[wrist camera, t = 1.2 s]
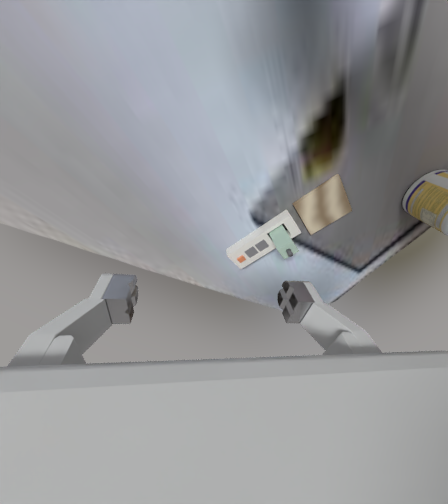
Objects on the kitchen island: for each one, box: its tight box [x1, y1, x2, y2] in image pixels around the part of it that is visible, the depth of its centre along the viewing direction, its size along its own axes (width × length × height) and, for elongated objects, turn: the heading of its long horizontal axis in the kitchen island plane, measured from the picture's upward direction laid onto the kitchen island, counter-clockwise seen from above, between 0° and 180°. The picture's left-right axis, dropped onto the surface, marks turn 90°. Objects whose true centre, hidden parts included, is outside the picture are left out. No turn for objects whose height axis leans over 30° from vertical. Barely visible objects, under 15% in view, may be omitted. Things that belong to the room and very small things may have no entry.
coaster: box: [293, 174, 352, 235], centre depth 53 cm, size 12×12×1 cm
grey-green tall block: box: [269, 225, 299, 259], centre depth 52 cm, size 4×4×12 cm
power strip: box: [226, 210, 301, 269], centre depth 57 cm, size 20×7×4 cm, turn 127°
